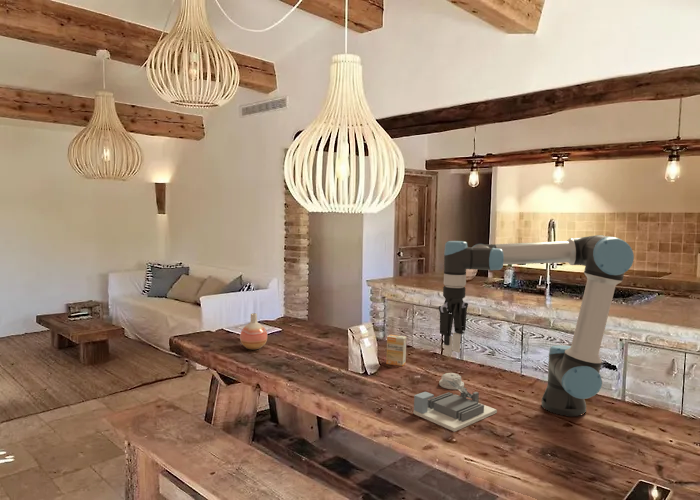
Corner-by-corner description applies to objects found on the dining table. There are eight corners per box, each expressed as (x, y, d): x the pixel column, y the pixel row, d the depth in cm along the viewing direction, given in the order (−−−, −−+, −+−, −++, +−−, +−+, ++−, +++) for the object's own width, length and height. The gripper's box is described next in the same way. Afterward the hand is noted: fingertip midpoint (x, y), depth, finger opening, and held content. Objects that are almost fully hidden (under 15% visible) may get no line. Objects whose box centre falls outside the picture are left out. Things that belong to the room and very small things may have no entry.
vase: (273, 347, 258) (273, 313, 256) (254, 353, 246) (254, 318, 245) (253, 342, 265) (253, 309, 263) (234, 349, 254) (234, 314, 252)
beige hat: (438, 389, 204) (464, 391, 202) (439, 378, 203) (464, 380, 201) (439, 380, 213) (463, 382, 211) (439, 370, 213) (464, 372, 211)
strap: (475, 400, 183) (476, 396, 183) (452, 382, 173) (453, 378, 173) (464, 396, 186) (465, 392, 187) (440, 378, 177) (442, 374, 177)
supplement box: (385, 364, 233) (386, 336, 232) (389, 361, 238) (389, 334, 236) (403, 366, 230) (403, 338, 229) (406, 363, 235) (406, 336, 233)
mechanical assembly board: (496, 412, 181) (497, 395, 180) (454, 431, 165) (455, 412, 164) (456, 397, 194) (456, 381, 194) (413, 413, 179) (413, 396, 178)
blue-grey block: (433, 409, 179) (433, 394, 179) (422, 413, 176) (422, 398, 175) (424, 405, 182) (425, 391, 182) (413, 410, 179) (414, 395, 178)
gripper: (460, 282, 182) (458, 346, 184) (429, 286, 171) (427, 354, 173) (478, 285, 176) (475, 350, 178) (447, 290, 165) (445, 359, 167)
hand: (452, 352), depth 176 cm, fingers open, 4 cm apart
